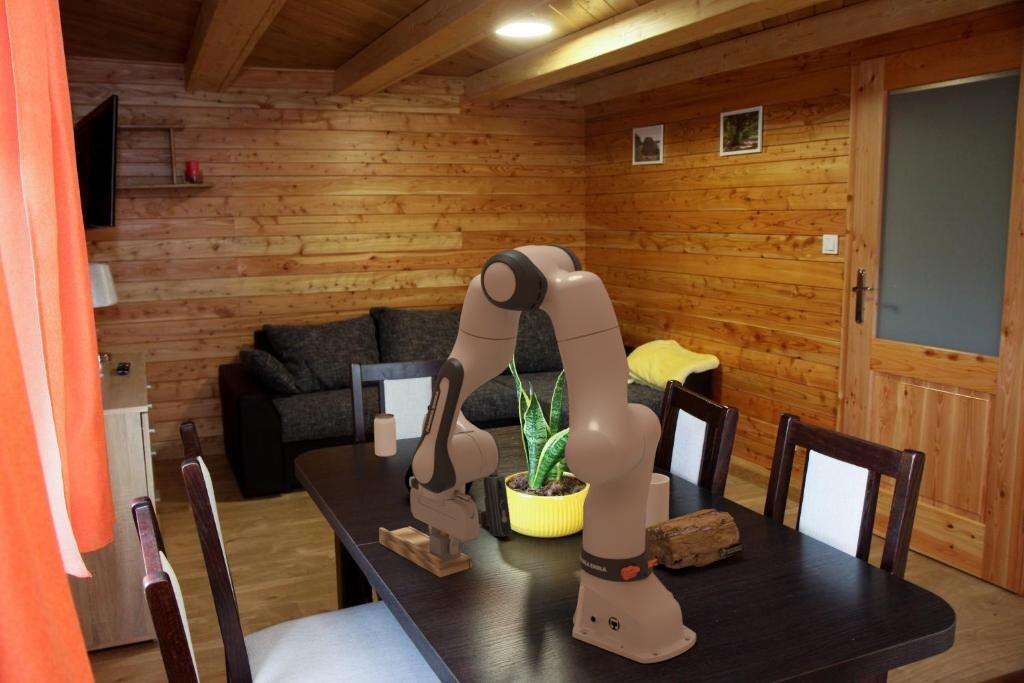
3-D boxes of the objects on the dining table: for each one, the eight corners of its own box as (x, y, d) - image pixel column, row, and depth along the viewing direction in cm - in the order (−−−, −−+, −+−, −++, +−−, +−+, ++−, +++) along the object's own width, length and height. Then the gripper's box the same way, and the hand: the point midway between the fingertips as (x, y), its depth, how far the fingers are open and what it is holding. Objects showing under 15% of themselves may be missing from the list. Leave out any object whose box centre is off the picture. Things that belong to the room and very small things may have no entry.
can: (389, 450, 273) (388, 412, 271) (400, 454, 268) (399, 415, 266) (370, 454, 269) (369, 415, 267) (382, 458, 264) (381, 419, 262)
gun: (476, 460, 213) (504, 459, 200) (485, 530, 212) (513, 534, 199) (466, 461, 212) (493, 461, 199) (474, 532, 210) (502, 536, 197)
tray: (472, 567, 184) (471, 551, 184) (440, 577, 179) (439, 561, 179) (409, 534, 203) (409, 519, 202) (379, 543, 198) (379, 528, 197)
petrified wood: (675, 579, 177) (668, 529, 178) (635, 570, 189) (628, 523, 189) (746, 556, 187) (739, 509, 187) (704, 549, 198) (697, 504, 198)
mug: (641, 540, 199) (642, 489, 197) (614, 529, 205) (615, 479, 203) (677, 528, 206) (678, 478, 204) (650, 518, 212) (651, 470, 211)
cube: (460, 557, 185) (460, 529, 184) (440, 563, 182) (440, 535, 181) (449, 551, 188) (449, 524, 187) (429, 557, 185) (429, 529, 184)
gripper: (486, 494, 176) (487, 560, 178) (429, 471, 192) (430, 532, 194) (460, 501, 172) (461, 568, 174) (404, 476, 188) (406, 539, 190)
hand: (445, 549), depth 184 cm, fingers closed on cube, 4 cm apart
